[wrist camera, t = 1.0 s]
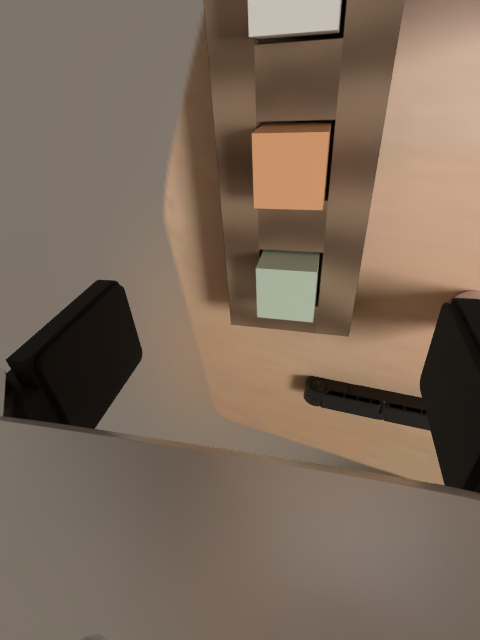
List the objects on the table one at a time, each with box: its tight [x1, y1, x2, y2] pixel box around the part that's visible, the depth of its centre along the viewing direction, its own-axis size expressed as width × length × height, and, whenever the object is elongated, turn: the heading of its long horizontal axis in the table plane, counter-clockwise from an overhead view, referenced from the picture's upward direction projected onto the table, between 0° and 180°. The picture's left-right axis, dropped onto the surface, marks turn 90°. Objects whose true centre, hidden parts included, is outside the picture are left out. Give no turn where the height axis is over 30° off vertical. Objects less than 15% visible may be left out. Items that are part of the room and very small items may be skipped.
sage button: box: [256, 250, 320, 322], centre depth 32 cm, size 5×5×4 cm
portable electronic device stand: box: [304, 376, 431, 431], centre depth 43 cm, size 18×3×3 cm, turn 88°
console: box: [204, 0, 404, 337], centre depth 28 cm, size 32×12×4 cm, turn 3°
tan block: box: [252, 122, 331, 210], centre depth 26 cm, size 5×5×4 cm
